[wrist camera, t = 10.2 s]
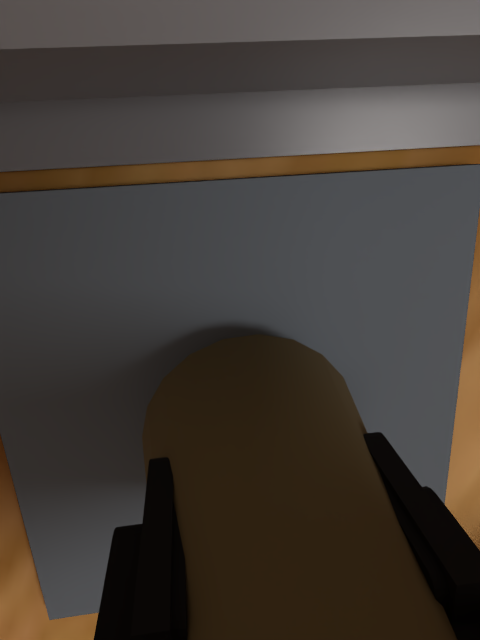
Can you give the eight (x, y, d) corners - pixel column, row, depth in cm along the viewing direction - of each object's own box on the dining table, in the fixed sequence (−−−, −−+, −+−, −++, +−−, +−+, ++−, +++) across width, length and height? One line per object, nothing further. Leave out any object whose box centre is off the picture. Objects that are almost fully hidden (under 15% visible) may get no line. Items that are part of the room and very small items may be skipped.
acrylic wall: (671, -29, 12) (1058, -179, 7) (635, 135, 13) (933, 119, 8) (-256, -14, 10) (-765, -221, 4) (-187, 182, 11) (-519, 200, 6)
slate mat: (471, 163, 13) (484, 164, 12) (429, 548, 18) (437, 560, 17) (-51, 195, 12) (-63, 197, 11) (54, 603, 16) (49, 619, 16)
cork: (397, 411, 13) (1173, 1310, 3) (264, 550, 14) (480, 1557, 4) (235, 288, 11) (760, 1525, 1) (97, 459, 12) (-290, 1864, 2)
